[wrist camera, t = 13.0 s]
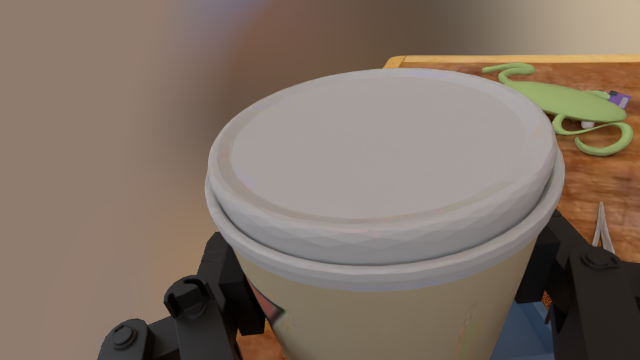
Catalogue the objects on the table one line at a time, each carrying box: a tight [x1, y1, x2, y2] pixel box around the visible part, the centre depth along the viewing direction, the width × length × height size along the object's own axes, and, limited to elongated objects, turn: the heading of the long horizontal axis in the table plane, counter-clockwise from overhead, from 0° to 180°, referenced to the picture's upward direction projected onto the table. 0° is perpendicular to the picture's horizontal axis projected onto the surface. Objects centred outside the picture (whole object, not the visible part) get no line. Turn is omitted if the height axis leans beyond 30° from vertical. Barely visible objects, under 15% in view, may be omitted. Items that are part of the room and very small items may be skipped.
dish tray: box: [489, 300, 555, 360], centre depth 32 cm, size 16×16×3 cm
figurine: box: [482, 62, 633, 156], centre depth 57 cm, size 18×27×6 cm
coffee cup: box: [205, 68, 565, 360], centre depth 13 cm, size 9×9×12 cm
